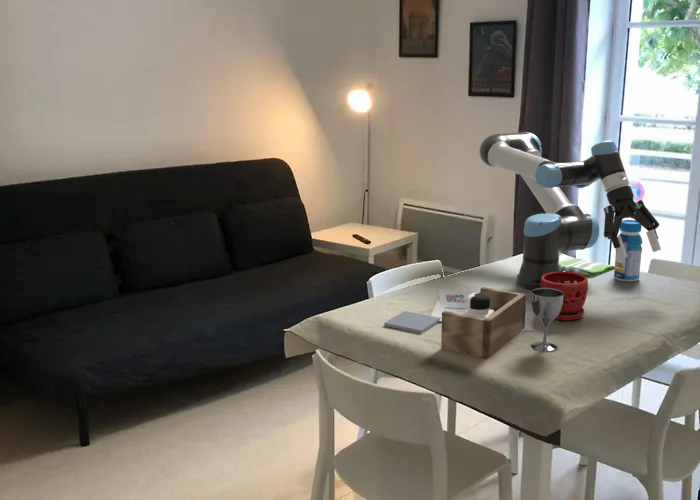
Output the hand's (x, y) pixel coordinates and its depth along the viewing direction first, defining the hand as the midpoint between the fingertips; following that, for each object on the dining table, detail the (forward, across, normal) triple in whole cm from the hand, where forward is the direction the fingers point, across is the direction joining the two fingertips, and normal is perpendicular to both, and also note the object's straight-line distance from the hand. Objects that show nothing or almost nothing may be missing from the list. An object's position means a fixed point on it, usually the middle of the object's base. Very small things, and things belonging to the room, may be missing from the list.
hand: (640, 254), depth 225 cm
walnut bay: (+13, -60, +3) cm, 61 cm away
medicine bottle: (+13, -61, +4) cm, 62 cm away
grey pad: (+4, -71, +19) cm, 74 cm away
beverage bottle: (+4, +16, +26) cm, 31 cm away
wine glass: (+20, -49, -8) cm, 54 cm away
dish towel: (-6, +10, +44) cm, 45 cm away
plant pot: (+12, -29, +8) cm, 32 cm away
